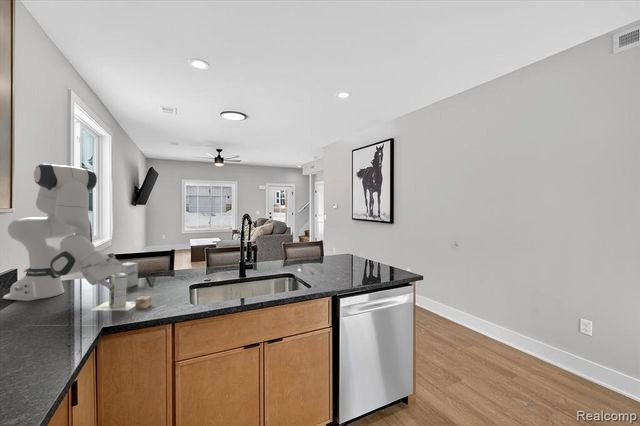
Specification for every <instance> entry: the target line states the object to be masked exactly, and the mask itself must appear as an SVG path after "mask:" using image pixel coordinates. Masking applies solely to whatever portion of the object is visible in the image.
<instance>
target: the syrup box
mask: <svg viewBox="0 0 640 426" xmlns="http://www.w3.org/2000/svg"><path fill="white" fill-rule="evenodd" d="M109 283H112V284H113V285H114V286H113V287H112V288H110V289H109V291H108V294H109V295H108V296H109V297H108V302H109V306H110V307H111V309H112V308H118V307H122V306H126V302H127V288H126V287H127V275H126V274H125V273H115V274H113V275H111V276H110V279H109Z"/></svg>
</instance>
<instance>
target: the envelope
mask: <svg viewBox="0 0 640 426" xmlns="http://www.w3.org/2000/svg"><path fill="white" fill-rule="evenodd" d="M134 307H136V301H126V306H122V307H118V308H112V309H111V307H110V306H109V301H105V302H104V303H102V304H101V303H100V305H97V306H95V307H93V308H92V309H90V311H129V310H131V309H133V308H134Z"/></svg>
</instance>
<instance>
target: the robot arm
mask: <svg viewBox="0 0 640 426" xmlns="http://www.w3.org/2000/svg"><path fill="white" fill-rule="evenodd" d="M33 179H34V182H35V183H36V184H37V185H38V186H40V187H39V190H38V193H37V197H36V201H35V206H36V208H37V209H38V210H39V211H40V212H42V213H44V214H46V216H38V217H37V216H36V217H35V216H32V217H29V216H28V217H23V218H18V219H16V218H15V219H13V220H12V221H11V222H10V223H9V224H8V226H7V233H8V235H9V236H10V237H11V238H12V239H13V240H16V241H18V242H19V243H21V244H22V245H23V246H24V247H25V249H26V250H27V252H28V257H29V258H28V259H29V267H28V268H26V269H25V270H23V273H25V275H24V276H22V277H21V278H20V279H18V280H17V281H16V282H14V283H12V285H11V286H10V289H9V293H7V294H5V295H3V296H2V299H4V300H13V301H14V300H15V301H24V302H25V301H26V302H28V301H29V302H30V301H34V300H35V301H36V300H38V299H39V300H40V299H48V298H52V297H55V296H59V295H62V294H64V293H65V289H64V286H63V285H64V284H63V282H62V276H67V275H71V274H76V273H79V272H81V273H82V276H83V278H84V279H85V280H86V281H87V282H88V283H89V284H90V285H92V286H95V285H101V286H104V287H106V288H107V289H110V288H112V287H113V286H114V285H113V284H112V283H110V281H109V280H110V276H111V275H113V274H115V273H123V272H124V271H125V270H126V269H125V267H124V266H123V265H122V264H123V263H122V262H120V261H119V260H118V259H117V258H116V256H115V255H114V254H111V253H110V254H109V253H103V252H102V251H101V250H100V249H98V248H96V247H95V245H94V243H93V234H92V233H93V231H92V222H91V220H90V217H89V202H90V201H89V191H92V190H93V189H94V188H95V187H96V185H97V180H98V177H97V175H96V172H94V171H93V170H91V169H88V168H81V167H78V166H77V167H76V166H71V165H62V164H61V165H60V164H51V163H41V164H38V165H36V167H35V169H34V172H33ZM61 238H63V239H62V240H61V241H60V243H59V244H60V246H59V248H57V247H55V246H53V245H49V244H48V243H47V240H48V239H50V240H51V239H61Z"/></svg>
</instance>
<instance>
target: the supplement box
mask: <svg viewBox="0 0 640 426" xmlns="http://www.w3.org/2000/svg"><path fill="white" fill-rule="evenodd" d="M121 264H122V265H123V266H124V267H125V269H126V270H125V271H124V272H123V273H125V274H126V275H127V287H126V289H128V288H132V287H134V286H137V285H138V284H139V283H138V279H139V276H138V275H139V272H138V270H139V269H138V268H139V267H138V266H139V264H138V263H137V262H130V261H129V262H128V261H127V262H123V263H121Z"/></svg>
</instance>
